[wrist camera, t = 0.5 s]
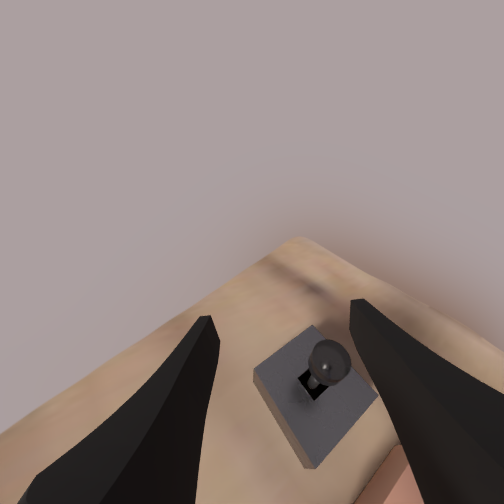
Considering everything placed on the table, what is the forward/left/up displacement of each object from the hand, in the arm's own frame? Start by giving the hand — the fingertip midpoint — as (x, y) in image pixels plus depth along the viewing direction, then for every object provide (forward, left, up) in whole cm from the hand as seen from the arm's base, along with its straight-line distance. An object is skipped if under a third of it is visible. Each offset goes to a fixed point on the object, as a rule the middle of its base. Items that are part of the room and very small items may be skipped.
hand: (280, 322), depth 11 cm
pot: (+1, -5, -19) cm, 20 cm away
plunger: (+1, -5, -15) cm, 16 cm away
